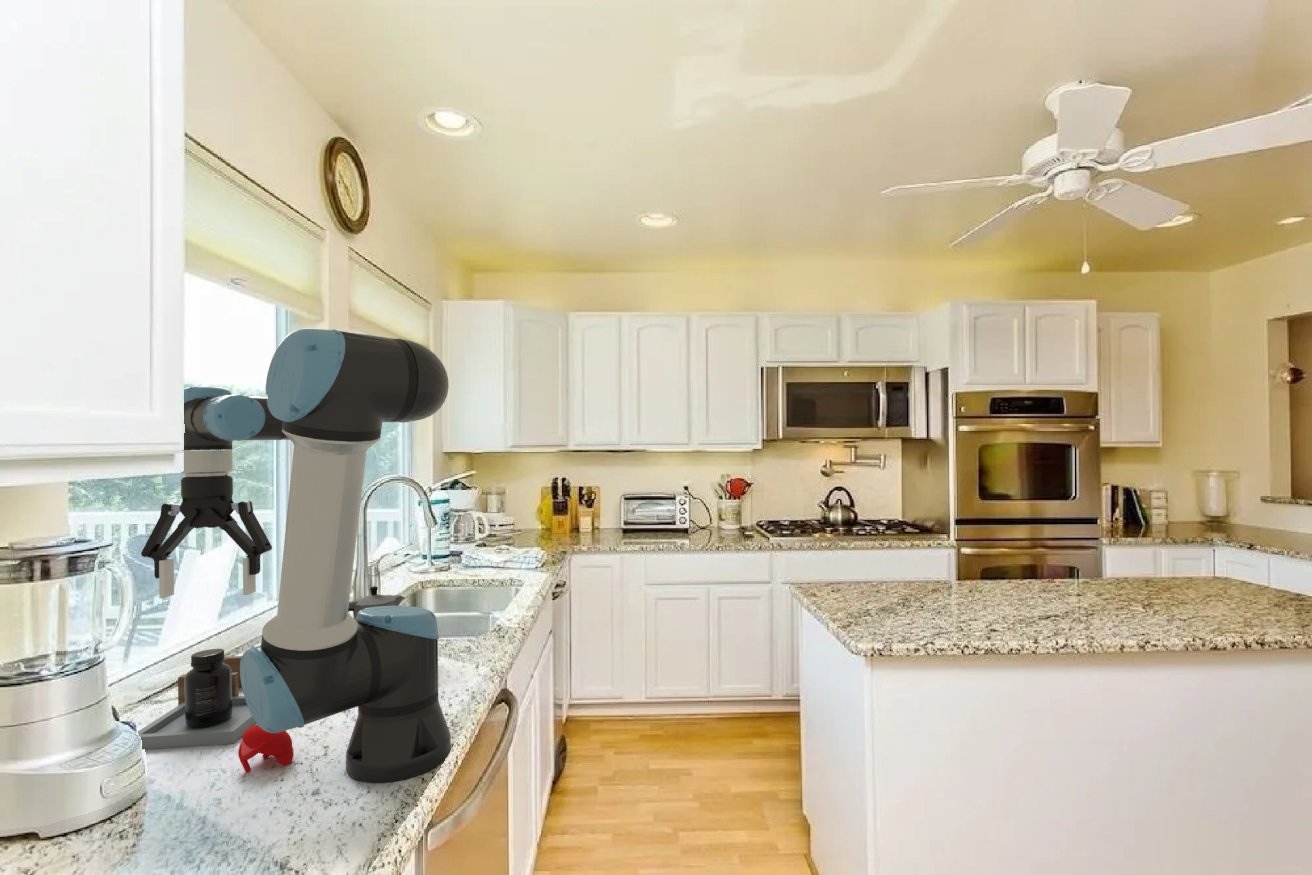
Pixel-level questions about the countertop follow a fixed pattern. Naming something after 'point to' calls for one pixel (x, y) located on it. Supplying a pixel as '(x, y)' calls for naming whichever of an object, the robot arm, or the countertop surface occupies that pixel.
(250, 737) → the cap
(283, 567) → the robot arm
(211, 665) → the supplement bottle
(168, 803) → the countertop surface
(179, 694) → the brown wooden block
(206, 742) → the tray
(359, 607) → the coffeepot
